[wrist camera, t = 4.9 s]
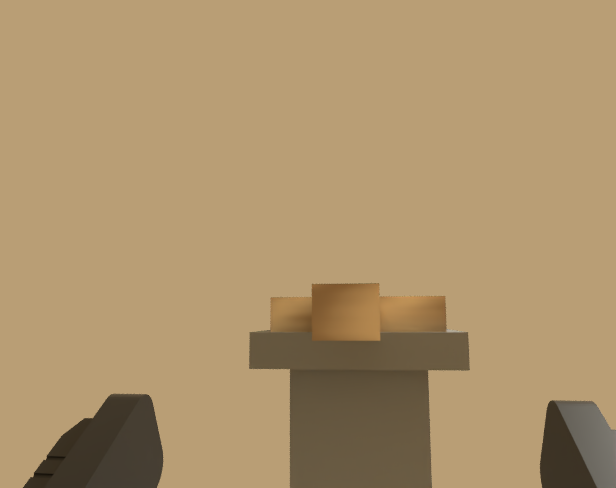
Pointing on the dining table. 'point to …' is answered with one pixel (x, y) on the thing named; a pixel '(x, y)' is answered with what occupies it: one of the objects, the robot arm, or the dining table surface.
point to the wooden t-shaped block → (356, 313)
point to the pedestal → (360, 404)
